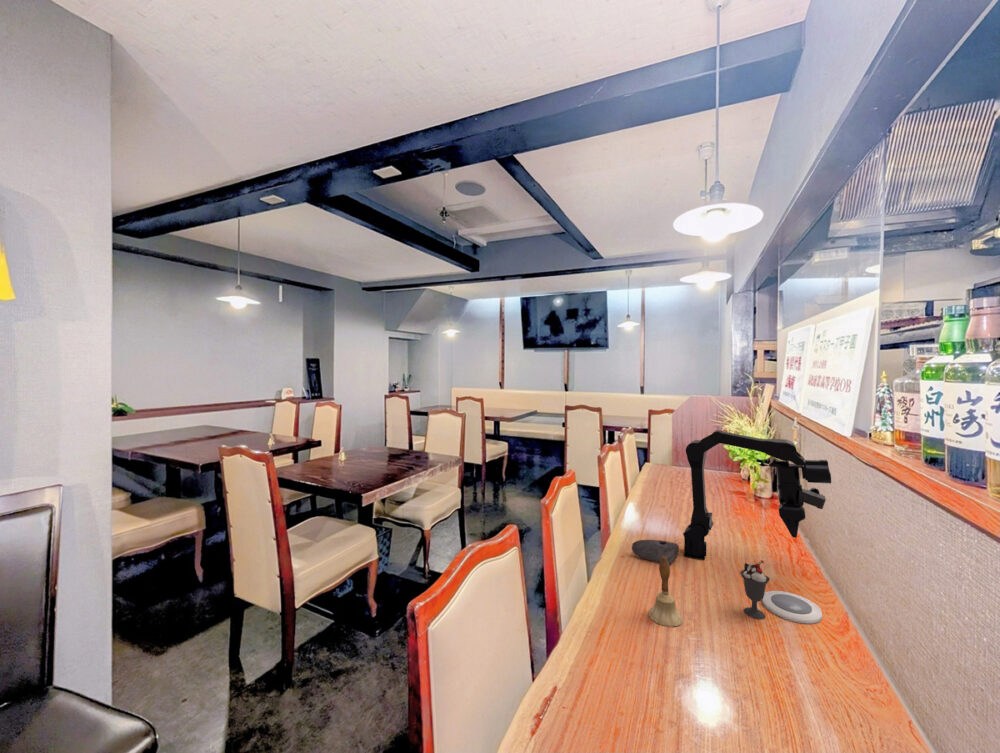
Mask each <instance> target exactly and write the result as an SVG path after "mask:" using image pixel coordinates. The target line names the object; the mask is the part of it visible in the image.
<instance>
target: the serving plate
mask: <svg viewBox="0 0 1000 753" xmlns="http://www.w3.org/2000/svg"><path fill="white" fill-rule="evenodd" d="M761 601H762V604H763V606H764V608H765V609H766V610H768V611H769V612H771V613H772V614H774V615H775V616H776V617H777V616H778V617H779V618H781V619H784V620H787V621H791V622H794V623H798V624H806V625H812V624H817V623H820V622H821V621H822V618H823V617H822V616H823V615H822V614H823V612H822V609H821V608H820V607H819V606H818V605H817V604H815V602H814V601H812V600H809V599H808V598H806V597H804V596H801V595H799V594H795V593H792V592H787V591H783V590H769V591H765V593H764V597H763V599H762V600H761Z"/></svg>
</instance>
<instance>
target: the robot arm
mask: <svg viewBox="0 0 1000 753" xmlns="http://www.w3.org/2000/svg"><path fill="white" fill-rule="evenodd" d="M719 444H723V445H727V446H733V447H737V448H743V449H747V450H752V451H754V452H755V451H756V452H760V453H762V454H765V455H767V456H770V457H773V459H772V460H771V461H770V462H769V463H768V467H770V468H775V469H776V477H777V478H776V479H777V489H778V500H779V502H778V503H779V506H778V515H779V517H780V519H781V520H782V522H783V523H784V526H785V527H786V529H787V530H788V533H789V534H790V536H791V538H798V532H799V526H800V522H802V521H804V520H805V519H806V512H805V508H804V505H805V504H807V505H810V506H812V507H815V508H816V509H820V510H823V509H824V506H825V503H826V500H827V498H826V496H825V495H824V494H820V490H819V489H818V488H816V487H811V488H810V489H805V488H803V486H802V484H801V479H803V480H805V481H807V483H813V484H815V483H816V484H832V476H831V475H832V474H831V471H830V468H829V462H828V460H827V459H818V460H817V459H805V458H804V456H803V455H802V454H800V453H799V452H798V450H797V446H796V444H795V443H794V442H793V441H792V440H789V439H782V438H759V437H753V436H749V435H748V436H747V435H744V434H738V433H735V432H734V433H732V432H727V431H723V430H720V429H717V430H715V431H713V433H711V434H709V435H707V436H705V437H703V438H702V439H699V440H698V439H695V440H692V441H691V442H689V444H687V446H686V448H685V454H686V458H687V463H688V465H689V468H690V471H691V472H690V474H691V490H692V491H691V492H692V513H691V518H690V524H688V525H687V526H686V528H685V529H684V532H683V537H684V538H683V540H684V543H683V544H684V548H683V556H684V557H685V558H686V557H687V558H692V559H697V560H702V561H705V560H706V557H707V542H706V541H705V537H707V536H708V535H709V533H710V531H712V528H713V525H714V521H713V512H709V510H708V508H707V499H706V498H707V497H706V481H705V478H706V477H705V463H706V459H707V454H708V453H707V452H708V451H709V450H711V449H712V448H714V447H715V446H717V445H719ZM800 469H801V476H802V478H800V477H801V476H800Z"/></svg>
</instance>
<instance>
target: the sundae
mask: <svg viewBox="0 0 1000 753" xmlns="http://www.w3.org/2000/svg"><path fill="white" fill-rule="evenodd" d="M762 563H763V564H764V560H760V561H759V562H758V563H754V564H749V563H746V562H744V564H743V565H744V567H743V568H744V569H743V570H741V571H740V572H739V574H740V576H741V578H742V579H743V584H744V586H743V587H744V591H745V594H746V596H747V597H748V599H750V600H751V606H750V607H744V608H743V613H744V614H745V615H746V616H748V617H750V618H751V619H754V620H755V619H756V620H764V619H765V618H766V614H765V613H764V612H763V611H762V610H760V609H759V608H758V603H759V602H761V601H762V599H763V597H764V593H766V586H767V584H768V583H769V582H770V580H771V578H770V577H769V576H767V575H765V573H764V572H763V570H762V568H761V564H762Z"/></svg>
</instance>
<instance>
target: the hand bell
mask: <svg viewBox="0 0 1000 753" xmlns="http://www.w3.org/2000/svg"><path fill="white" fill-rule="evenodd" d="M670 565H671V564H669V562H668V559H667V557H666V556H662V559H661V562H660V563H659V576H660V578H661V592H659V593H657V594H656V596H655V602H654V605H653V606H652V607H650V609H649V610H648V617H649V616H650V617H649V618H650V619H651V620H652V621H653V622H654V623H656V624H657V623H658V624H657V625H660V626H662V625H664V626H663V627H666V626H676V627H678V626H679V627H680V626H681V624H683V621H684V620H683V617H682V615H681V613H680V612H679V611H678V610H677V607H676V600H675V598H674V596H673V594H670V591H669V590H670V589H669V578H670V576H671V566H670Z"/></svg>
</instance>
